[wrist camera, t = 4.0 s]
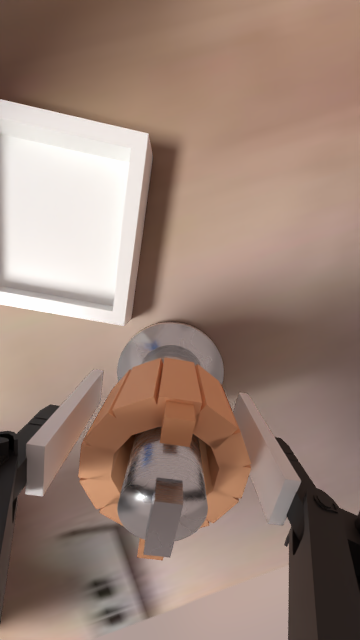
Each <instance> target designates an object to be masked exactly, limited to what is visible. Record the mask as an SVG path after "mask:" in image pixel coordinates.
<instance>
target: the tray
mask: <svg viewBox="0 0 360 640" xmlns="http://www.w3.org/2000/svg"><path fill="white" fill-rule="evenodd" d="M152 162H153V154H152V149H151V144H150V139H149V134H148V133H143V132H139V131H135V130H131V129H126V128H122V127H118V126H113V125H109V124H105V123H101V122H96V121H92V120H88V119H83V118H79V117H75V116H71V115H66V114H62V113H58V112H53V111H49V110H45V109H41V108H36V107H32V106H28V105H23V104H19V103H15V102H11V101H6V100H2V99H0V304H1V305H7V306H13V307H19V308H24V309H30V310H36V311H42V312H47V313H53V314H59V315H64V316H70V317H76V318H82V319H87V320H93V321H99V322H105V323H110V324H116V325H122V326H124V325H125V324H127V323H128V322H129V321H130V320H131V317H132V310H133V303H134V295H135V288H136V280H137V273H138V265H139V258H140V251H141V243H142V236H143V228H144V221H145V214H146V206H147V199H148V191H149V184H150V177H151V169H152Z"/></svg>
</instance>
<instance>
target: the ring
mask: <svg viewBox="0 0 360 640" xmlns="http://www.w3.org/2000/svg"><path fill="white" fill-rule="evenodd" d="M156 427H161V436H160V443H163V444H170V445H178V446H185V447H190V444H191V440H192V436H193V434H194V435H196V436H197V437H198V438H199V445H200V452H201V460H202V467H203V475H204V482H205V489H206V497H207V504H208V512H207V516H206V519H205V521H204V523H203V524H202V526H201V527H200V528H202V527H205V526H209V521H210V522H212V523H214V522H215V521H217V520H218V519H219V518H220V517H221V516H223V515H224V514H225V513H226V512H227V511H228V510H230V509H231V508H232V507H233V506H234V505H236V504H237V503H238V502H239V500H238V498H242V495H243V492H244V489H245V486H246V483H247V480H248V477H249V474H250V471H251V466H250V464H251V461H250V458H249V455H248V452H247V449H246V446H245V443H244V440H243V437H242V434H241V431H240V429H239V426H238V424H237V422H236V419H235V417H234V414H233V412H232V409H231V407H230V405H229V402H228V400H227V397H226V395H225V392H224V390H223V387H222V385H221V384H220V382H219V381H218V380H217V379H216V378H215V377H213V376H212V375H211V374H210V373H208V372H207V371H206V370H205V369H203V368H202V367H201V366H200V365H198V364H197V365H196V366H195V364H194V362H189V361H183V360H177V359H171V358H164V363H163V362H162V359H161V358H158V359H155V360H152V361H149V362H146V363H144V364H141V365H138V366H135V367H133V368H132V370H130V369H129V371H128V372H127V373H126V374H125V375H124V376H123V377H122V379H121V380H120V381H119V382H118V383H117V384H116V386H115V387H114V388H113V389H112V390H111V392H110V394H109V396H108V398H107V399H106V401H105V403H104V405H103V406H102V408H101V410H100V412H99V413H98V415H97V417H96V419H95V420H94V422H93V424H92V426H91V427H90V429H89V431H88V433H87V434H86V436H85V438H84V440H83V442H82V444H81V453H80V464H79V475H78V477H79V478H81V479H80V481H79V482H80V483H81V485H82V487H83V488H84V490H85V492H86V493H87V495H88V497H89V498H90V500H91V502H92V503H93V505H94V507H95V508H96V509H100V508H101V509H100V512H99V513H101V514H103V515H105V516H106V517H108V518H110V519H112V520H113V521H115V522H117V523H119V524H120V525H122V526H123V524H122V523H121V521H120V519H119V516H118V511H117V506H118V501H119V497H120V493H121V489H122V486H123V482H124V478H125V474H126V470H127V466H128V462H129V458H130V455H131V451H132V447H133V443H134V439H135V435H136V434H137V433H140V432H144V431H147V430H150V429H153V428H156ZM144 545H145V540H144V539H141V538H140V541H139V548H138V555H137V558H146V559H156V560H163V557H161V556H152V555H143V553H144Z"/></svg>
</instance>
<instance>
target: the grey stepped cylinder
mask: <svg viewBox="0 0 360 640" xmlns="http://www.w3.org/2000/svg"><path fill="white" fill-rule="evenodd" d="M158 358H161V359H162V362H163V363H164V358H171V359H177V360H183V361H189V362H194V364H195V366H196V365H197V364H198V365H200V366H201V367H202V368H203V369H205V370H206V371H207V372H208V373H210V374H211V375H212V376H213V377H215V378H216V379H217V380H218V381H219V382H220V384H221V385H222V383H223V378H224V367H223V362H222V358H221V356H220V353H219V351H218V349H217V348H216V346H215V344H214V343H213V341H212V340H211V339H210V338H209V337H208V336H207V335H206V334H205V333H203V332H202V331H201V330H199V329H197V328H196V327H194V326H191V325H188V324H185V323H181V322H161V323H156V324H153V325H150V326H148V327H146V328H144V329H142V330H141V331H139V332H138V333H137V334H136V335H134V336H133V337H132V339H131V340H130V341H129V342H128V344H127V345H126V346H125V348H124V349H123V351H122V353H121V356H120V358H119V362H118V368H117V376H118V382H119V381H120V380H121V379H122V377H123V376H124V375H125V374H126V373H127V372H128V371H129V369H130V370H132V368H133V367H135V366H138V365H141V364H144V363H146V362H149V361H152V360H155V359H158ZM160 436H161V427H156V428H153V429H150V430H147V431H144V432H140V433H137V434H136V435H135V439H134V443H133V447H132V451H131V455H130V458H129V462H128V466H127V470H126V474H125V478H124V482H123V486H122V489H121V493H120V497H119V501H118V506H117V511H118V516H119V519H120V521H121V523H122V524H123V526H124V527H125V528H126V529H127V530H128V531H129V532H130V533H132V534H133V535H135V536H137V537H139V538H141V539H144V540H145V545H144V553H143V555H152V556H161V557H170V556H171V552H172V548H173V544H174V541H178V540H181V539H184V538H186V537H188V536H190V535H192V534H193V533H194V532H196V531H197V530H198V529H199V528H200V527H201V526H202V524H203V523H204V521H205V519H206V516H207V512H208V504H207V497H206V489H205V482H204V475H203V467H202V460H201V452H200V445H199V438H198V437H197V436H196V435H194V434H193V436H192V440H191V444H190V447H185V446H178V445H170V444H163V443H160Z"/></svg>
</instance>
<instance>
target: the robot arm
mask: <svg viewBox="0 0 360 640" xmlns="http://www.w3.org/2000/svg"><path fill="white" fill-rule="evenodd" d="M102 381H103V370H97V369H93V370H92V371H91V372H90V373H89V374H88V375H87V377H86V378H85V379H84V380H83V381H82V382H81V383H80V384H79V385H78V387H77V388H76V389H75V390H74V391H73V392H72V393H71V394H70V396H69V397H68V398H67V399H66V400H65V401H64V402H63V403H62V404H61V406H56V405H49V406H47V407H45V408H44V409H42V410H40V411H39V412H38V413H37V414H36V415H35V416H34V418H32V419H31V420H30V421H29V422H28V424H26V425H25V426H24V427H23V428H22V429H21V430H20V431H19V432H18V433H17V434H16V433H14V432H11V431H3V432H0V622H1V615H2V608H3V601H4V594H5V587H6V580H7V573H8V566H9V559H10V552H11V545H12V538H13V531H14V524H15V517H16V510H17V503H18V495H19V493H20V492H21V490H22V489H23V488H24V486H25V485H26V492H25V494H27V495H35V496H44V494H45V492H46V491H47V489H48V487H49V486H50V484H51V482H52V481H53V479H54V477H55V476H56V474H57V472H58V471H59V469H60V468H61V466H62V464H63V463H64V461H65V459H66V458H67V456H68V454H69V453H70V451H71V449H72V448H73V446H74V444H75V443H76V441H77V440H78V438H79V436H80V435H81V433H82V431H83V430H84V428H85V426H86V425H87V423H88V421H89V420H90V418H91V416H92V415H93V413H94V411H95V410H96V408H97V407H98V405H99V403H100V399H101V390H102ZM233 414H234V417H235V419H236V422H237V424H238V426H239V429H240V431H241V434H242V437H243V440H244V443H245V446H246V449H247V452H248V455H249V458H250V461H251V464H250V466H251V471H250V476H251V479H252V482H253V485H254V487H255V490H256V493H257V495H258V498H259V501H260V504H261V506H262V509H263V512H264V514H265V517H266V520H267V523H268V524H274V525H284V522H285V520H286V517H288V519H289V522H290V524H291V529H290V531H289V533H288V536H287V538H286V541H285V544H284V545H285V546H288V543H289V620H288V626H289V627H288V640H360V512H359V514H358V516H356V515H354V514H352V513H350V512H347V511H345V510H343V509H341V508H339V507H338V506H337V504H336V503H335V501H334V500H333V499H332V498H331V497H330V496H329V495H328V494H326V493H325V492H323V491H322V490H320V489H317V488H316V487H315V485H314V484H313V482H312V481H311V479H310V478H309V476H308V475H307V473H306V472H305V470H304V469H303V467H302V466H301V464H300V463H299V462H298V459H297V458H296V456H295V455H294V453H293V452H292V450H291V449H290V447H289V446H288V445H287V444H286V443H285V442H284V441H283V440H282V439H281V438H276V437H274V435H273V434H272V432H271V430H270V429H269V427H268V425H267V424H266V422H265V420H264V419H263V417H262V416H261V414H260V412H259V411H258V409H257V407H256V406H255V404H254V402H253V401H252V399H251V397H250V396H249V394H247V393H240V392H239V394H238V397H237V401H236V404H235V408H234V411H233Z"/></svg>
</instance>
